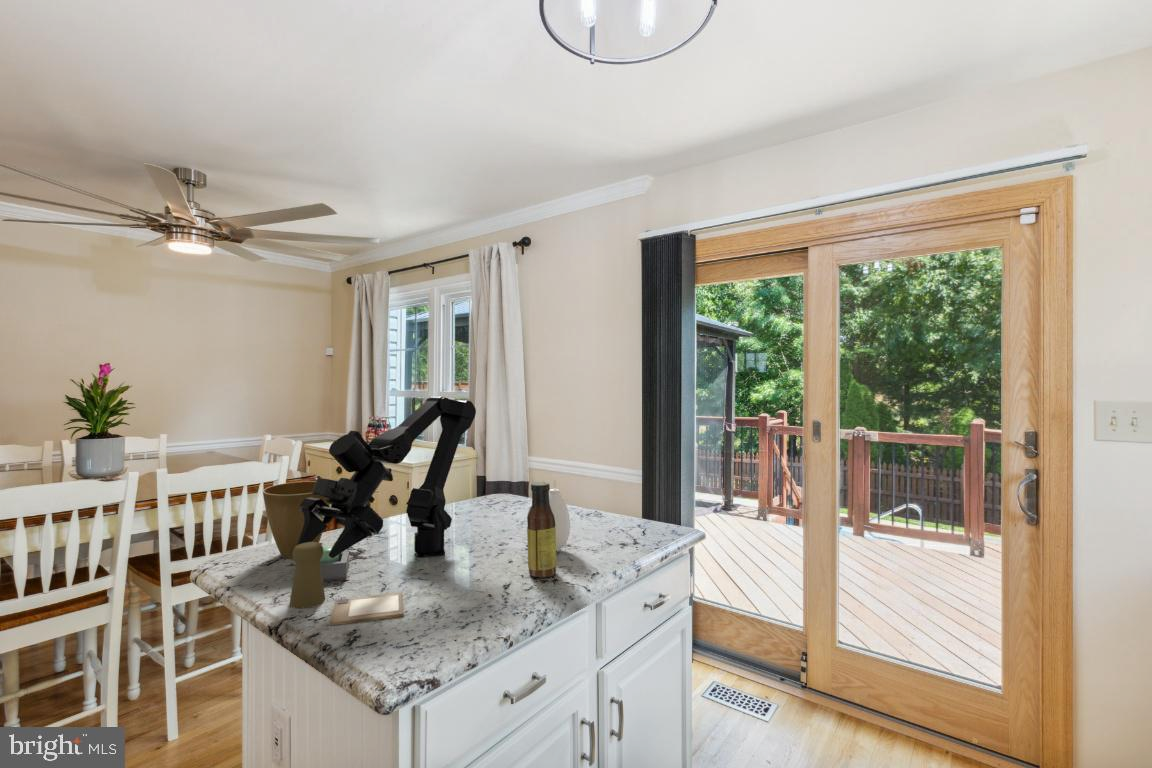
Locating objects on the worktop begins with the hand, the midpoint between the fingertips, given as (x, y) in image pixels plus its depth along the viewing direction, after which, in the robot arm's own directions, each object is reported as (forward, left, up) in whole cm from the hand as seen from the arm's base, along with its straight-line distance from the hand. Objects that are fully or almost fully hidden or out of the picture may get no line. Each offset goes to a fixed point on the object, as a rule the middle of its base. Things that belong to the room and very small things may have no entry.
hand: (314, 552), depth 102 cm
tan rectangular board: (-10, +8, -9) cm, 16 cm away
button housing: (-1, -13, -9) cm, 16 cm away
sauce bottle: (-45, 0, -9) cm, 46 cm away
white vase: (-52, -14, -9) cm, 55 cm away
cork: (+1, +1, -9) cm, 9 cm away
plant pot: (+7, -30, -9) cm, 32 cm away
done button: (-1, -13, -6) cm, 15 cm away
